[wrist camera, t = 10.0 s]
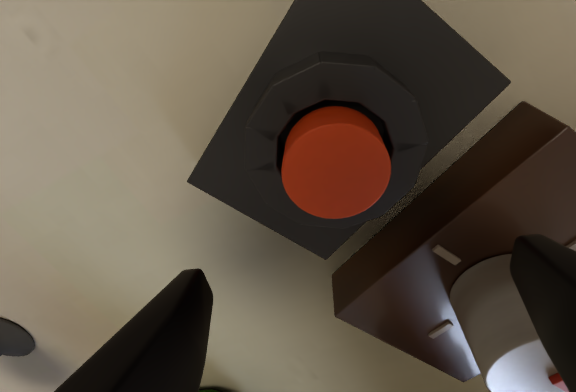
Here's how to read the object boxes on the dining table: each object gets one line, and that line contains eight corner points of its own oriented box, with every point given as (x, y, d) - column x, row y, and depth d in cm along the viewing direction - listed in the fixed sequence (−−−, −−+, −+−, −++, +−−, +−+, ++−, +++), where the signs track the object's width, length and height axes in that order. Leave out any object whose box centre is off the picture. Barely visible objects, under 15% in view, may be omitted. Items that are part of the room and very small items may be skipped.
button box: (324, 239, 19) (327, 287, 16) (196, 164, 17) (172, 204, 14) (491, 71, 14) (541, 96, 11) (335, -68, 11) (343, -85, 9)
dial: (427, 296, 16) (461, 385, 13) (514, 235, 14) (584, 322, 11) (492, 334, 18) (539, 425, 14) (581, 284, 15) (664, 376, 12)
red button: (339, 208, 14) (343, 235, 12) (266, 162, 13) (260, 186, 11) (402, 142, 12) (415, 164, 11) (323, 84, 11) (325, 100, 10)
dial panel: (446, 338, 23) (464, 385, 20) (331, 274, 20) (334, 319, 18) (651, 214, 17) (715, 258, 14) (522, 100, 14) (571, 127, 11)
